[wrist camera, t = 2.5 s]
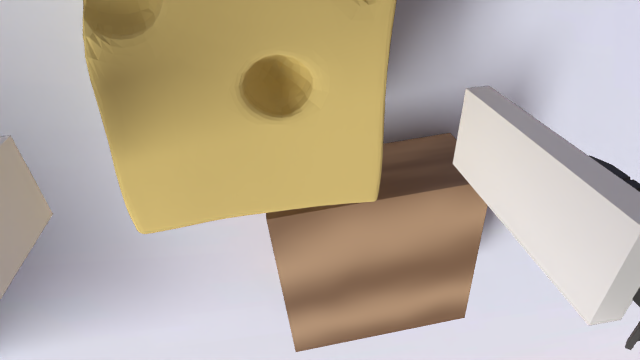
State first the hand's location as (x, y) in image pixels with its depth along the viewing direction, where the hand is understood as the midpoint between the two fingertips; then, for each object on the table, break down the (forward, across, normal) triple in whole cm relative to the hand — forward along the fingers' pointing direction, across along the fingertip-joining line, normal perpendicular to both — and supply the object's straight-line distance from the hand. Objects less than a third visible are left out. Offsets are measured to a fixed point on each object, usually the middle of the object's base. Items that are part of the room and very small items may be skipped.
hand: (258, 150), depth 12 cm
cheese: (+12, 0, +1) cm, 12 cm away
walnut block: (+12, +6, -14) cm, 20 cm away
